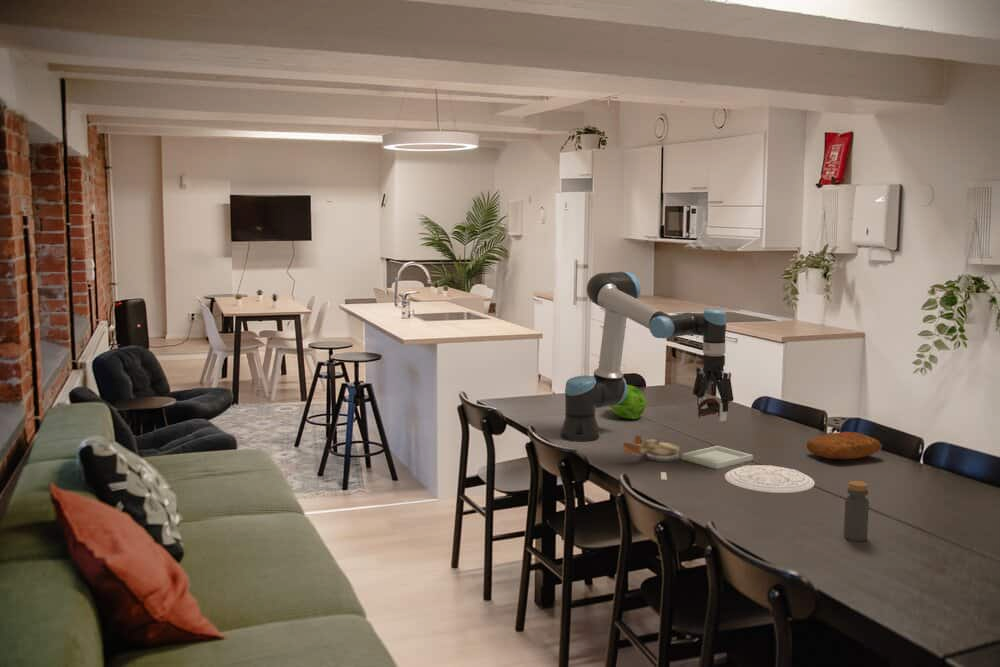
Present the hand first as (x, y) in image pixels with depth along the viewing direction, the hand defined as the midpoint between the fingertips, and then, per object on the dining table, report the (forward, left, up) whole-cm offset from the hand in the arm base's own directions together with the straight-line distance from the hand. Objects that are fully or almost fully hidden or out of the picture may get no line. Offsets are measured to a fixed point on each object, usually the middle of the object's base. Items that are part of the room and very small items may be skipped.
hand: (712, 418), depth 310 cm
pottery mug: (-1, +1, 0) cm, 1 cm away
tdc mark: (+3, -27, -16) cm, 31 cm away
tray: (0, +3, -16) cm, 16 cm away
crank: (-14, -14, -13) cm, 24 cm away
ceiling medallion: (+26, -2, -16) cm, 31 cm away
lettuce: (-70, +25, -16) cm, 76 cm away
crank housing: (-14, -10, -16) cm, 23 cm away
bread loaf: (+25, +41, -16) cm, 51 cm away
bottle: (+73, -27, -16) cm, 79 cm away
